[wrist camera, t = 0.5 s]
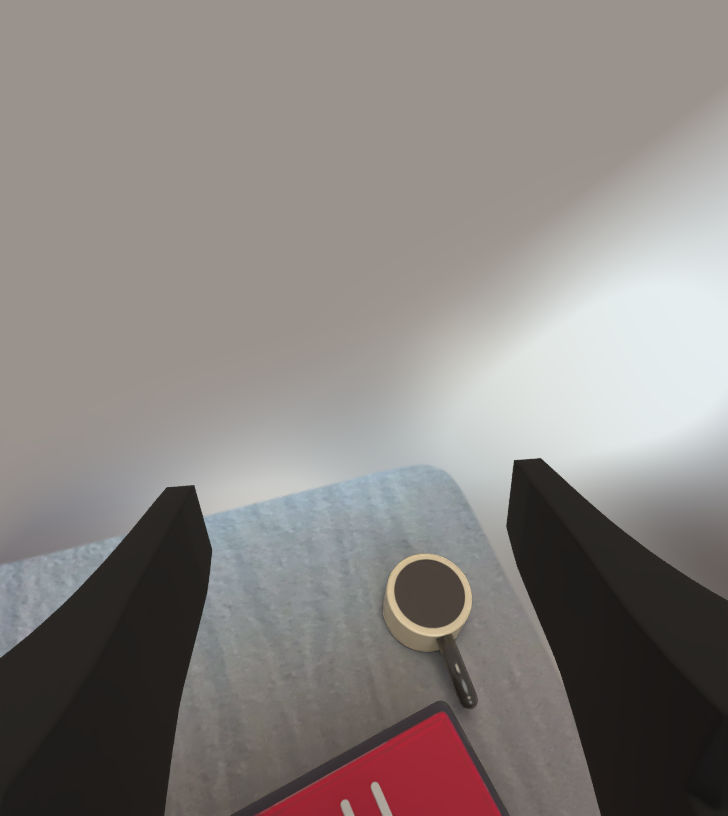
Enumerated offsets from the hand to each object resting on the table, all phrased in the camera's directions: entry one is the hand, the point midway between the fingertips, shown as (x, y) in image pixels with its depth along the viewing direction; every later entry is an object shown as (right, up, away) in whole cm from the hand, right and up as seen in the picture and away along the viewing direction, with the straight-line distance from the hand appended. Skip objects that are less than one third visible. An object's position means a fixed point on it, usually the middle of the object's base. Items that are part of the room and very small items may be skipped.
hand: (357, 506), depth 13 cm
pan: (+4, -10, +18) cm, 21 cm away
